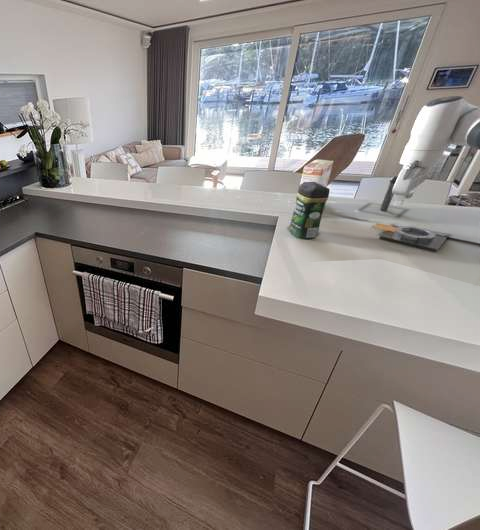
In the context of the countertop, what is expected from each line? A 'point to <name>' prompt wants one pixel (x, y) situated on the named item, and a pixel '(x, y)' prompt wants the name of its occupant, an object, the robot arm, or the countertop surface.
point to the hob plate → (430, 246)
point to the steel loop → (399, 232)
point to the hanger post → (388, 195)
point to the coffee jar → (308, 210)
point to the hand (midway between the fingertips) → (402, 201)
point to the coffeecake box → (317, 172)
